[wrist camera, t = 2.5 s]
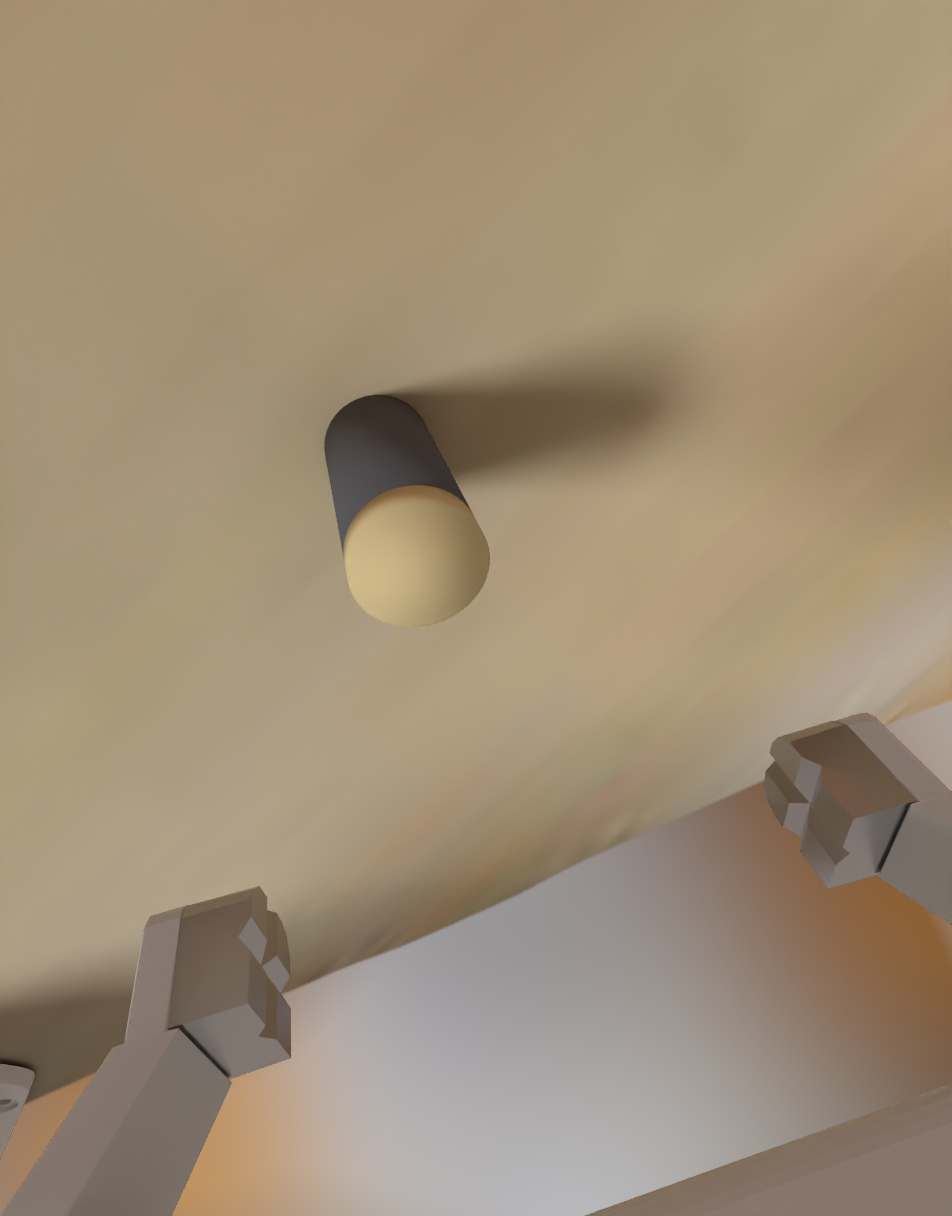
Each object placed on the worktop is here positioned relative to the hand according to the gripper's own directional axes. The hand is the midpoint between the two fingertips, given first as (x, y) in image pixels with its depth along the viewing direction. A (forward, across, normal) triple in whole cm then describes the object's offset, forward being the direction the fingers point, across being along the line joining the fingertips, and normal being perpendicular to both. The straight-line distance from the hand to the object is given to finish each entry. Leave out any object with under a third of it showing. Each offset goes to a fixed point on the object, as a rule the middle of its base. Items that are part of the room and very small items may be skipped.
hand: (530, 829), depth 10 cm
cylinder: (+16, 0, 0) cm, 16 cm away
